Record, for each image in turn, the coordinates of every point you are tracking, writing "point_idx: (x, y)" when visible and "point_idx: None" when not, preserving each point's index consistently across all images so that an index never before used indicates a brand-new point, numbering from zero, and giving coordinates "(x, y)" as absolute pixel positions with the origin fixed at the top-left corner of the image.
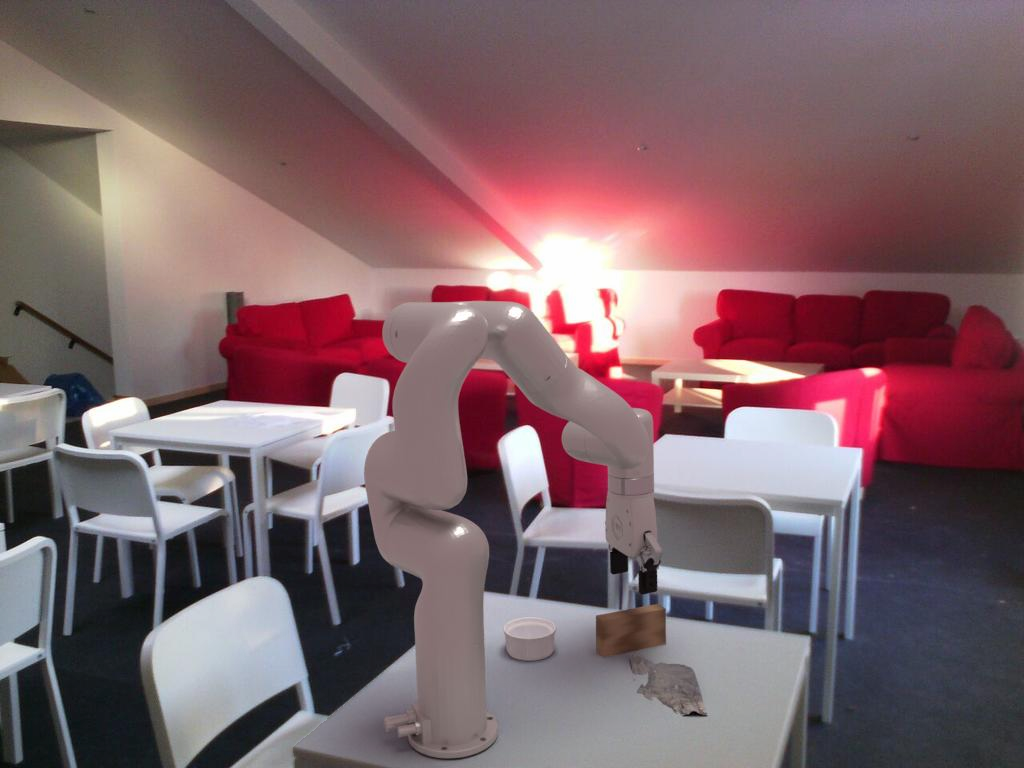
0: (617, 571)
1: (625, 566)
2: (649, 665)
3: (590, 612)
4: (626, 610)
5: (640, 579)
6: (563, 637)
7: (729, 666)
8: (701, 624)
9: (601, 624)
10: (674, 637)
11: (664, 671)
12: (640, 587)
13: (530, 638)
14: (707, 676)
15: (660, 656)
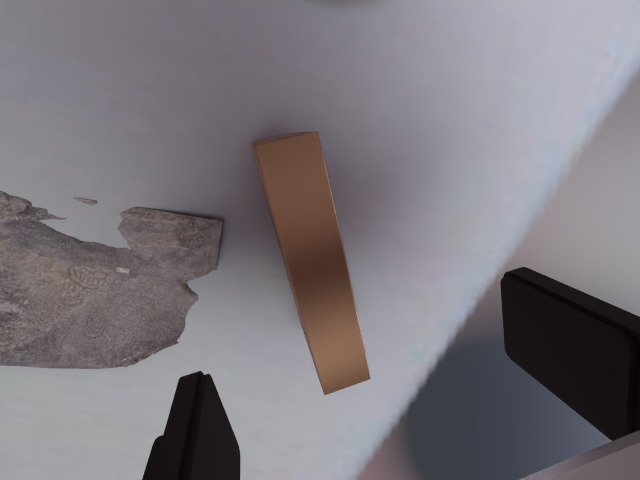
0: (510, 305)
1: (528, 360)
2: (161, 262)
3: (529, 179)
4: (339, 265)
5: (158, 458)
6: (407, 54)
7: None
8: (386, 417)
9: (264, 143)
10: None
11: (119, 294)
12: (171, 407)
13: None
14: (102, 389)
15: (234, 301)
